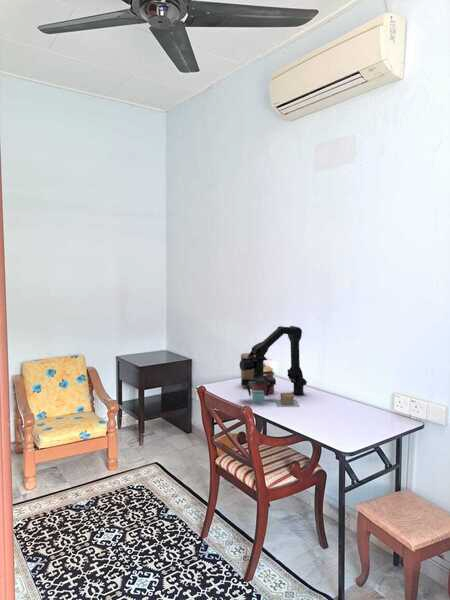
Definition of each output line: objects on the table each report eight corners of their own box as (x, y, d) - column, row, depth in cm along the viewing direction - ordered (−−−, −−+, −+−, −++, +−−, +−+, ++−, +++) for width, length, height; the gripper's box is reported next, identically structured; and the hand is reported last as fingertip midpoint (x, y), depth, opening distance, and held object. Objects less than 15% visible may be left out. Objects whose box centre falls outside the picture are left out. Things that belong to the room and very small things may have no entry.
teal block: (252, 399, 245) (252, 390, 245) (263, 399, 245) (263, 390, 245) (253, 402, 239) (253, 393, 239) (264, 402, 239) (264, 393, 239)
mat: (274, 400, 242) (274, 399, 242) (296, 400, 242) (296, 399, 242) (277, 407, 230) (277, 407, 230) (299, 407, 230) (299, 406, 230)
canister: (273, 389, 264) (273, 360, 262) (275, 396, 251) (275, 365, 249) (251, 389, 264) (251, 360, 262) (252, 396, 251) (252, 365, 250)
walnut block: (280, 401, 239) (280, 392, 239) (291, 401, 239) (291, 392, 239) (282, 405, 233) (282, 395, 233) (293, 404, 233) (293, 395, 233)
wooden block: (241, 384, 275) (240, 353, 273) (256, 383, 276) (256, 352, 274) (243, 389, 265) (243, 356, 263) (259, 388, 266) (259, 356, 264)
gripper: (241, 372, 233) (242, 401, 234) (277, 372, 233) (277, 400, 234) (241, 367, 244) (241, 394, 245) (274, 367, 244) (274, 394, 245)
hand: (258, 396), depth 242 cm, fingers open, 9 cm apart
